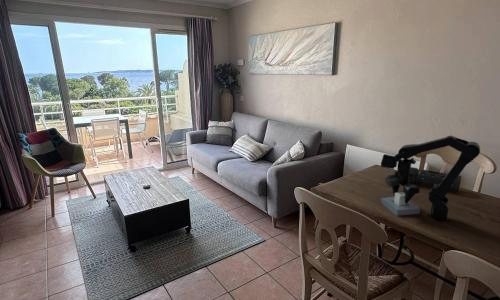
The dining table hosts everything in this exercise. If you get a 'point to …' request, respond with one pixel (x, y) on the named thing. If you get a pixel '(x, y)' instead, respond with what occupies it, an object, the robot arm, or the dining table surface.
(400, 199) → the block
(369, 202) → the dining table surface
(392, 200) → the socket plate
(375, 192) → the dining table surface
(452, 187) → the muzzle brake
